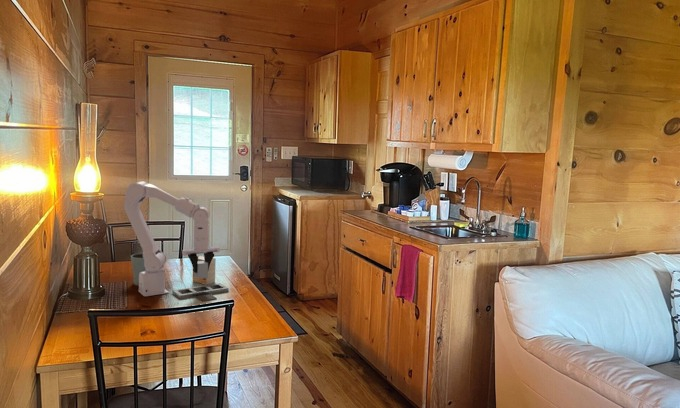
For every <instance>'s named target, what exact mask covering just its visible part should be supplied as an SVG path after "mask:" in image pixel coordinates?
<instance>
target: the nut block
mask: <svg viewBox="0 0 680 408" xmlns="http://www.w3.org/2000/svg"><path fill="white" fill-rule="evenodd" d="M194 277H196V278H197V279H201V278H208V263H207V262H206V261H198V263H197V273H195V272H194Z"/></svg>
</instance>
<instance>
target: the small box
mask: <svg viewBox="0 0 680 408" xmlns="http://www.w3.org/2000/svg"><path fill="white" fill-rule="evenodd" d="M198 261H205V259H204V255H200V256H198ZM192 282H195V283H197V284H198V283H200V284H202V285H204V286H205V285H211V284H213V283H215V282H216V257H213V259H212V261H211V263H210V266H209V270H208V278H201V279H197V278H196V277H194V271H193V270H192Z"/></svg>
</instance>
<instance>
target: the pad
mask: <svg viewBox="0 0 680 408" xmlns="http://www.w3.org/2000/svg"><path fill="white" fill-rule="evenodd" d="M195 298H196V299H197V300H199V301H200V302H202V303H203V302H207V301H215V300H217V299H218V298H217V297H216V296H214V294H208V295H202V296H196V297H195Z"/></svg>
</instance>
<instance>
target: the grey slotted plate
mask: <svg viewBox="0 0 680 408" xmlns="http://www.w3.org/2000/svg"><path fill="white" fill-rule="evenodd" d="M229 290H230V289H229V287H228V286H226V285H224V284H222V283H218V282H217V283H214V284H213V283H211V284H207V285H205V284H204V285H199V286H192V287H185V288H179V289H178V288H177V289H172V292H171V293H172V295H173V296H175V297H176V298H177V299H178V300H184V299H190V298H196V296H202V295H208V294H211V295H215V294H222V293H228V292H229Z"/></svg>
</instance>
